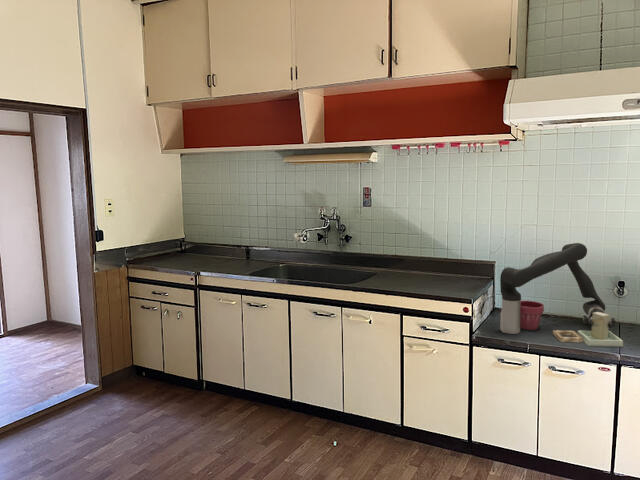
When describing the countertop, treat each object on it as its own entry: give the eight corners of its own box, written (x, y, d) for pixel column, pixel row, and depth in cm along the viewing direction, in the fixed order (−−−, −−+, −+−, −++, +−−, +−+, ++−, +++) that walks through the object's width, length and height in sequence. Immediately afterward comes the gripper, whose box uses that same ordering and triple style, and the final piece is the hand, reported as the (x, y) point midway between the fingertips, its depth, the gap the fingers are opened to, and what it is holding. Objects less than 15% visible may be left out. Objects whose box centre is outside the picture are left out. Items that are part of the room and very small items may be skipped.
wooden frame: (560, 341, 251) (560, 337, 251) (552, 334, 263) (552, 330, 263) (582, 342, 250) (582, 338, 250) (573, 334, 262) (573, 330, 262)
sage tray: (588, 346, 244) (589, 340, 244) (577, 336, 259) (577, 330, 259) (622, 347, 242) (623, 340, 242) (609, 336, 257) (609, 331, 257)
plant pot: (539, 333, 265) (540, 308, 264) (511, 328, 273) (512, 305, 271) (545, 325, 277) (546, 302, 275) (518, 322, 285) (518, 299, 283)
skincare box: (590, 336, 253) (591, 312, 251) (597, 335, 255) (598, 311, 253) (602, 340, 247) (603, 315, 245) (608, 339, 249) (609, 314, 247)
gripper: (581, 307, 265) (584, 316, 250) (613, 309, 260) (618, 318, 244) (581, 321, 266) (583, 331, 251) (612, 324, 261) (617, 334, 246)
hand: (600, 325), depth 248 cm, fingers closed on skincare box, 7 cm apart
